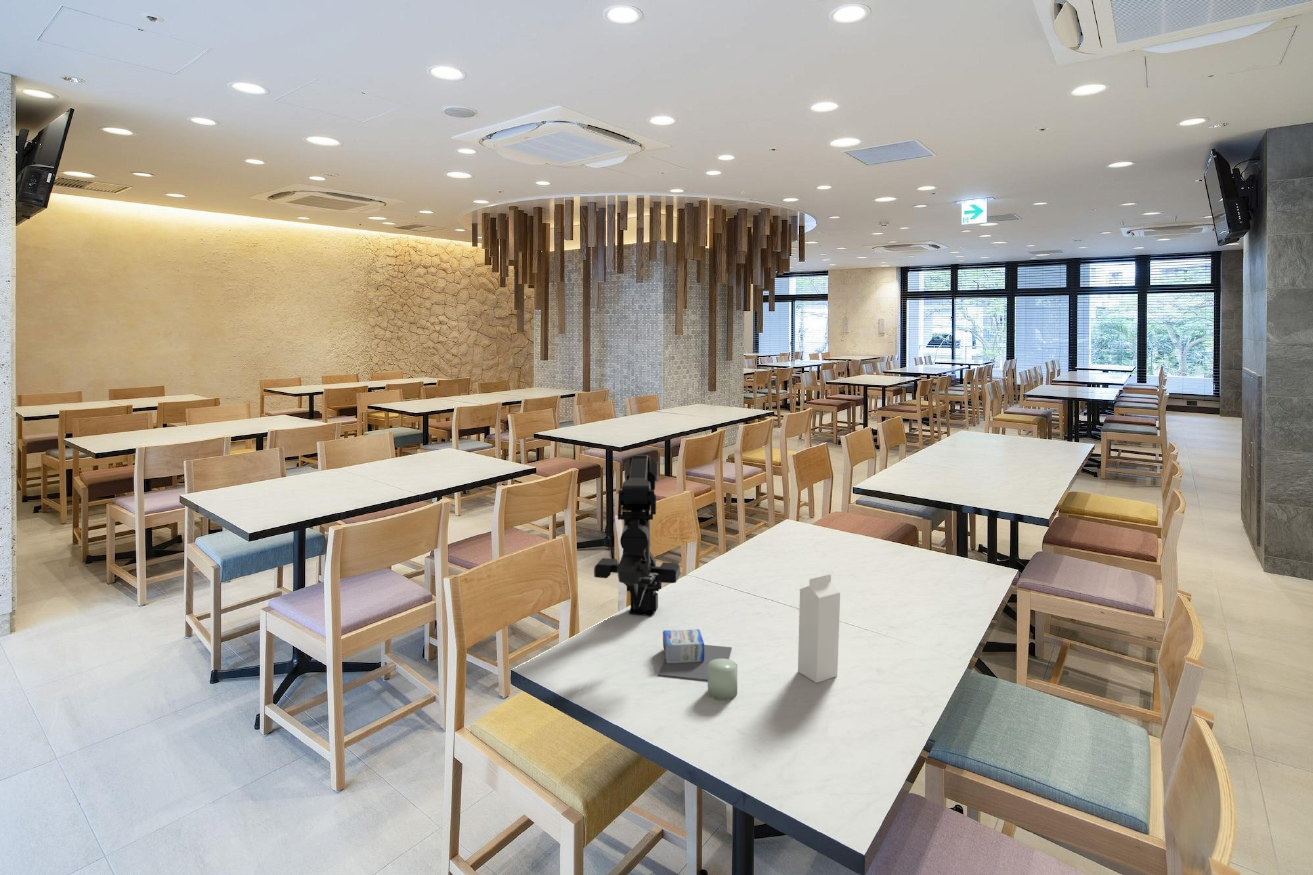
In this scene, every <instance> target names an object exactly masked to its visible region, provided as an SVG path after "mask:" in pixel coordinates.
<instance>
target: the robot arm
mask: <svg viewBox="0 0 1313 875" xmlns="http://www.w3.org/2000/svg"><path fill="white" fill-rule="evenodd" d="M656 482H659V465H658V462H656V461H654V460H653V459H651V456H650V455H648V454H632V455H630V456H629V460H627V461H626V462H624V481H623V482H622V486H621V489H619V490H618V501H617V503H618V504H617V506H618V507H617V520H619V521H622V520H623V528H622V532H621V535H620V540H619V541H620V542H619V543H620V546H621V548H622V555H621V558H620V561H619V562H618V559H617V558H609V557H608V558H605V557H604V558H603V557H602V558H601V559H600V560H598V562H597V563H596V564H595V565H594V568H593V575H594V576H593V577H594V578H599V579H607V578H609V577H610V576H611V574H612V573H614V574H617V577H618V582H619V583H623V585H625V586H626V592H629V595H630V609H629V611H628V615H635V616H636V615H637V616H648V617H652V616H654V615H655V612H656V611H657V610H658V608H659V593H658V592H659V590H662V583H663V584H664V583H665V584H674V583H675V584H676V583H677V582H678V579H679V578H680V575H681V566H680V564H679V563H677V562H667V561H666V562H662V563H661V565H660V566H657V560H656V557H654V556H653V553H652V552H651V520H652V521H653V520H654V515H657V494H655V489H656Z"/></svg>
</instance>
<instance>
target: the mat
mask: <svg viewBox="0 0 1313 875" xmlns="http://www.w3.org/2000/svg"><path fill="white" fill-rule="evenodd" d="M704 649H705V655H704V661H702V662H686V663H666V658H664V660H663V662H662V665H661V667H660V669H659V671H658V673H657V677H658V676H659V677H666V678H667V677H668V678H674V679H675V678H676V679H677V678H678V679H685V680H686V679H687V680H696V681H704V682H705V681H706V682H708V663H709V662H710V661H712V660H714V659H721V658H722V659H729V660H730V656H731V653H732V647H731V646H720V645H710V644H704Z"/></svg>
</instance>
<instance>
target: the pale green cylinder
mask: <svg viewBox="0 0 1313 875" xmlns="http://www.w3.org/2000/svg"><path fill="white" fill-rule="evenodd" d="M707 694H708V697H710V698H712V699H714V700H716V701H730V700H733V699H735V698H736V697H737V695H738V663H736V662H735V661H734V660H732V659H730V658H729V659H722V658H721V659H714V660H712V661H710V662H709V663H708V681H707Z"/></svg>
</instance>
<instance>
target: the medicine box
mask: <svg viewBox="0 0 1313 875" xmlns="http://www.w3.org/2000/svg"><path fill="white" fill-rule="evenodd" d="M704 645H705V642H704V638H703V636H702V633H701V631H700V629H699V628H692V629H671V630H668V629H665V630H663V631H662V646H663V653H664V657H665V658H666V663H686V662H702V661H704V655H705V649H704ZM665 658H664V659H665Z"/></svg>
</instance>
